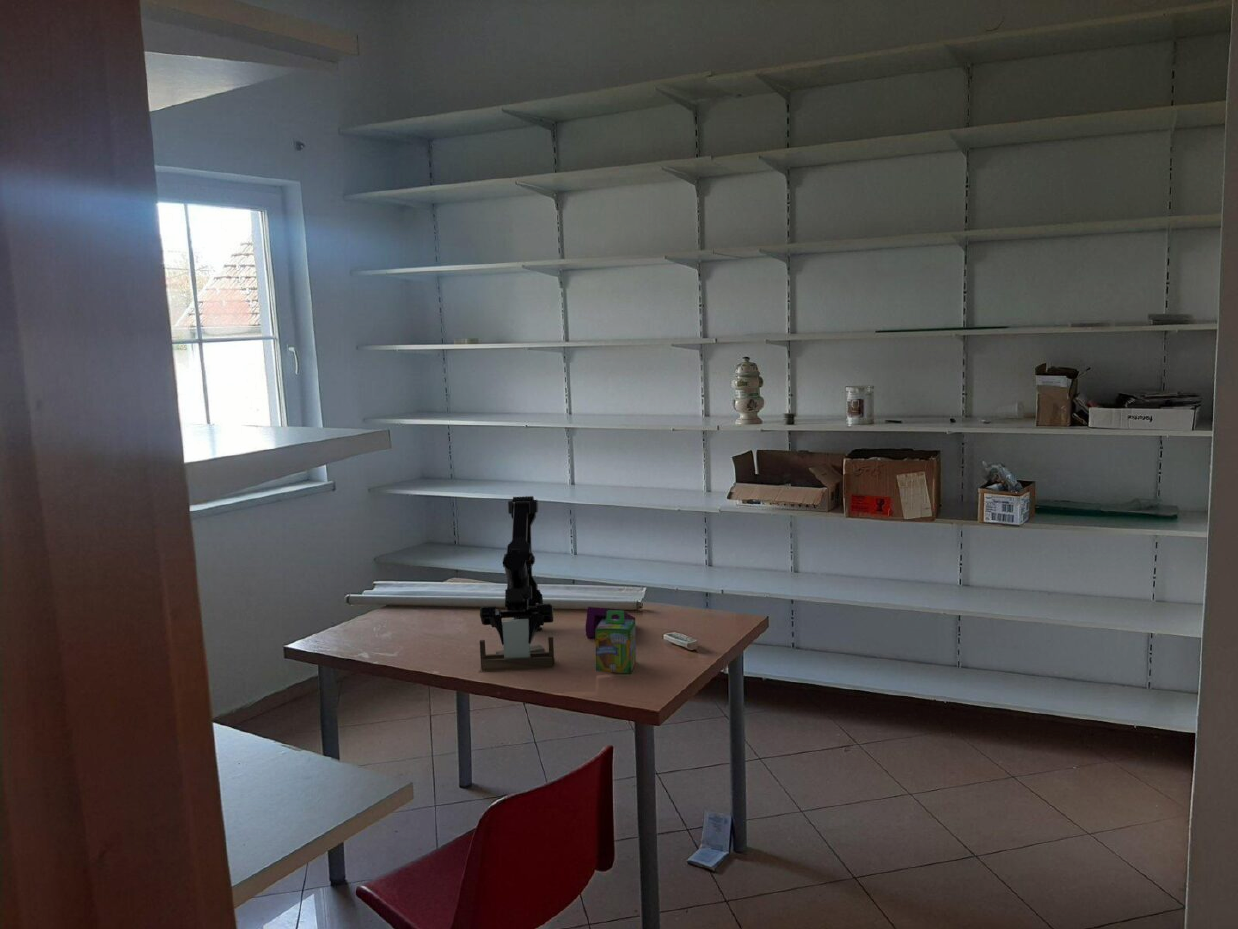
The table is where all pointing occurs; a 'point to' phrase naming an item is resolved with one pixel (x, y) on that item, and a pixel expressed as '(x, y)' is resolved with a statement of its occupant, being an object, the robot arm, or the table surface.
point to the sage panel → (516, 638)
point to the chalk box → (615, 643)
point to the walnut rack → (517, 660)
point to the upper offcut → (533, 649)
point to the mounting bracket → (599, 619)
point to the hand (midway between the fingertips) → (516, 643)
